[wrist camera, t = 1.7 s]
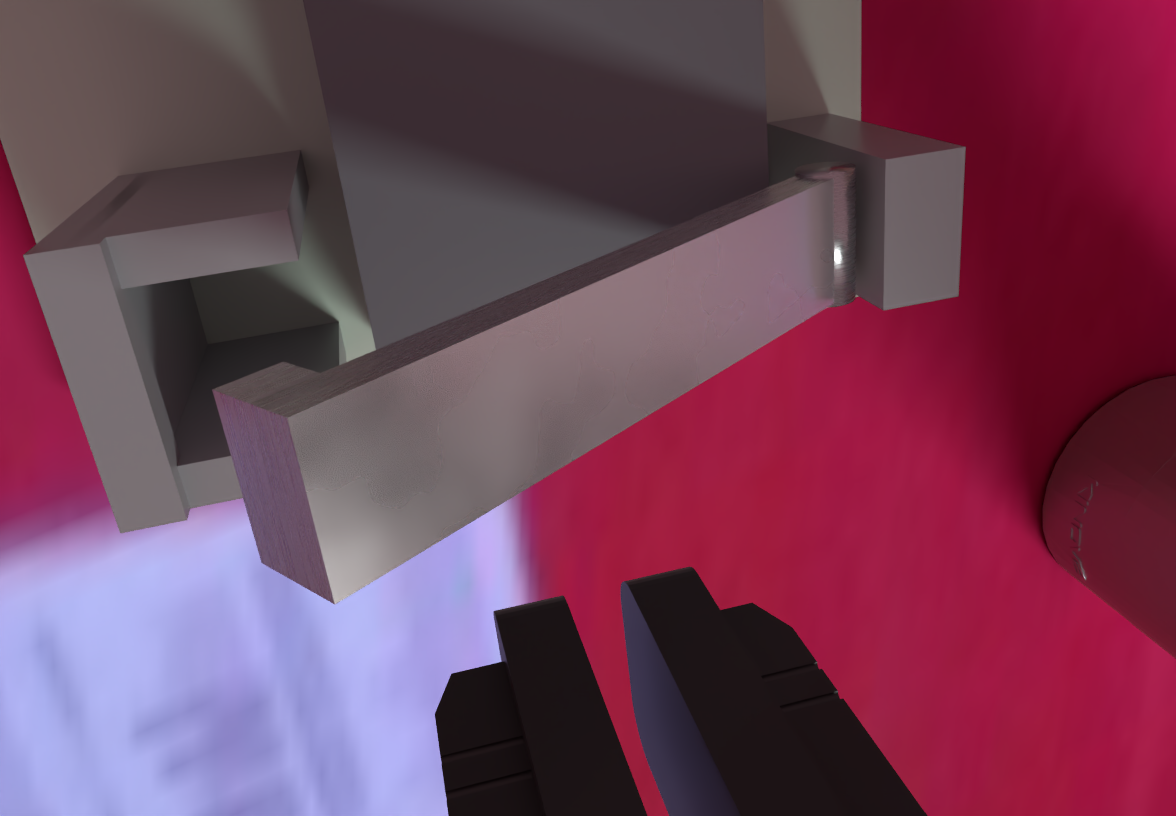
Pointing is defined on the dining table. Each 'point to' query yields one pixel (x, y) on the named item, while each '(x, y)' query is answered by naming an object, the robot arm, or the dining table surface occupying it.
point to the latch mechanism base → (399, 180)
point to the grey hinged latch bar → (523, 382)
